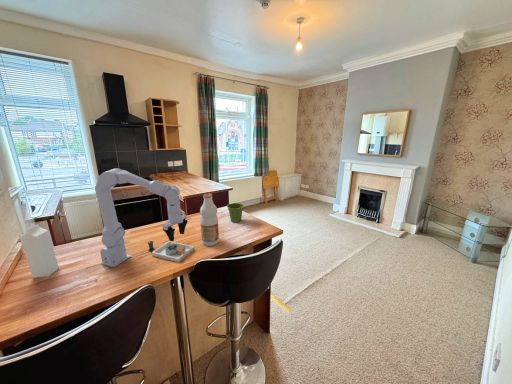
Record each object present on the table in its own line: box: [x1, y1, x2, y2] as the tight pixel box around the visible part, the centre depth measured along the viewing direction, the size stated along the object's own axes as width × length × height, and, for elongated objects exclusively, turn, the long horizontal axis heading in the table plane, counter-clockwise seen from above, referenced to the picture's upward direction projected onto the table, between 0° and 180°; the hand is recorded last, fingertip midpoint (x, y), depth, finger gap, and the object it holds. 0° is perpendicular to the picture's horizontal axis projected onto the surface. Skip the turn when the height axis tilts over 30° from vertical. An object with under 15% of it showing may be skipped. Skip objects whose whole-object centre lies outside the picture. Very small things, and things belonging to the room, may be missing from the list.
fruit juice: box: [199, 193, 220, 247], centre depth 114 cm, size 9×9×28 cm
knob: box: [147, 240, 156, 253], centre depth 109 cm, size 3×3×4 cm
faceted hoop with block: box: [165, 244, 186, 256], centre depth 106 cm, size 11×7×3 cm, turn 71°
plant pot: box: [226, 202, 245, 224], centre depth 145 cm, size 12×12×11 cm
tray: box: [151, 240, 195, 263], centre depth 107 cm, size 12×16×2 cm
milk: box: [19, 223, 60, 279], centre depth 88 cm, size 6×6×22 cm
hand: (177, 237), depth 104 cm, fingers open, 7 cm apart
